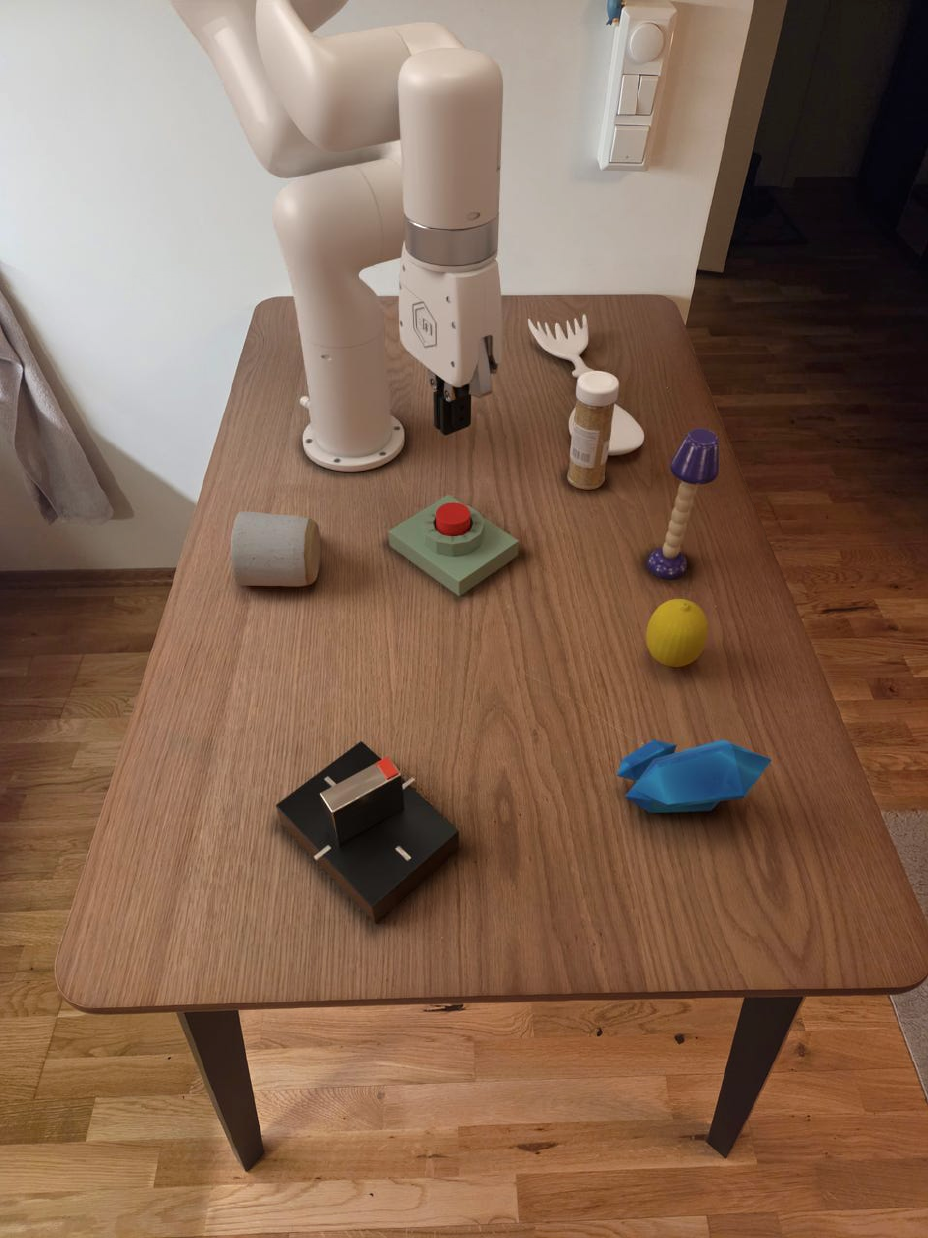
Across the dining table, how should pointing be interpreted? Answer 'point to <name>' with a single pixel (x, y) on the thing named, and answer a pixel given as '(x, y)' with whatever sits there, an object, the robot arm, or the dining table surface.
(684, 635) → the lemon
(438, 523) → the red button
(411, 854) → the knob panel
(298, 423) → the dining table surface
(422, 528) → the button block
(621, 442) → the white salad fork spoon
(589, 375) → the sprinkles bottle
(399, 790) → the silver block red tip
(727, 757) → the crystal
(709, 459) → the toy lamp
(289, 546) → the grey cylinder
